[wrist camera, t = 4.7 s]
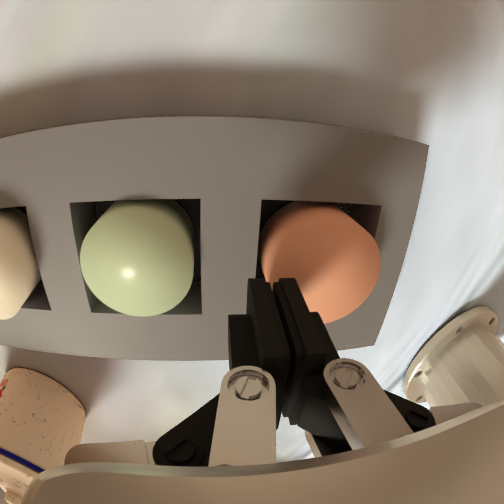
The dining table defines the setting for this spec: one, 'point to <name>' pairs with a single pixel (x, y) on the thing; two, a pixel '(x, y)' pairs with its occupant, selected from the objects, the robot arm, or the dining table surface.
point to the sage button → (140, 256)
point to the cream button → (16, 262)
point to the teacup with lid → (34, 428)
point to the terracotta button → (320, 256)
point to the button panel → (212, 219)
